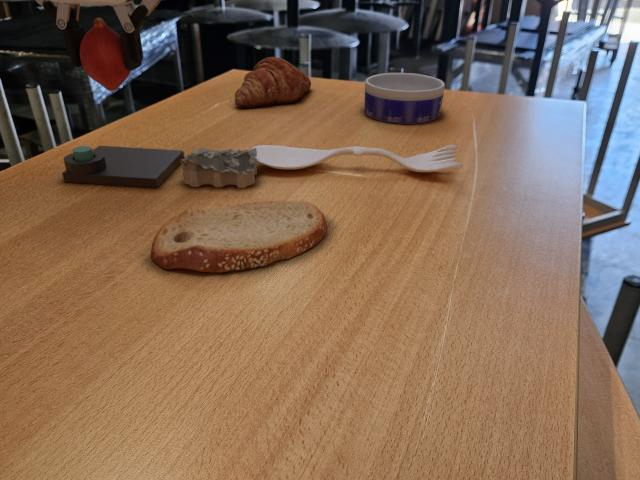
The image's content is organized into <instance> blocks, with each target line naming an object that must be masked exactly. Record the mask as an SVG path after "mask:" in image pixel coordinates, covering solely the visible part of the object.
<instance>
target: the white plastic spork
mask: <svg viewBox="0 0 640 480" xmlns="http://www.w3.org/2000/svg"><path fill="white" fill-rule="evenodd" d="M254 148H256V150H257V156H256V163H259V164H261V165H263V166H266V167H269V168H271V169H276V170H288V171H289V170H290V171H291V170H292V171H294V170H301V169H305V168H309V167H313V166H315V165H318V164H320V163H322V162H325V161H327V160H329V159H333V158H335V157H338V156H343V155H344V156H345V155H351V156H355V157H362V156H376V157H381V158H382V157H383V158H385V159H388V160H389V161H392V162H393V163H394V164H395V163H396V164H397V165H399V166H401V167H403V168H405V169H406V170H409V171H412V172H417V173H445V172H455V171H460V170H463V168H464V164H463V163H460V162H459V161H457V159H456V157H457V154H456V153H457V150H458V145H457V144H449V145H446V146H443V147H440V148H438V149H435V150H432V151H429V152H424V153H420V154H416V155H413V156H409V157H402V156H400V155H397V154H395V153H393V152H391V151H389V150H387V149H383V148H378V147H364V146H359V145H356V146H345V147H339V148H333V149H317V148H307V147H294V146H287V145H286V146H285V145H276V144H275V145H274V144H260V145H255V146H253V147H251V149H254ZM251 149H250V150H251Z"/></svg>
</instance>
